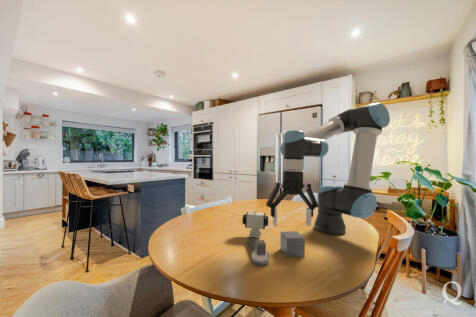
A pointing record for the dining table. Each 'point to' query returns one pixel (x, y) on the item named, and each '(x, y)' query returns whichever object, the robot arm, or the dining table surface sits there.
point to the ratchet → (258, 252)
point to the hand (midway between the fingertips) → (291, 225)
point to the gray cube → (292, 244)
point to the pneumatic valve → (255, 222)
